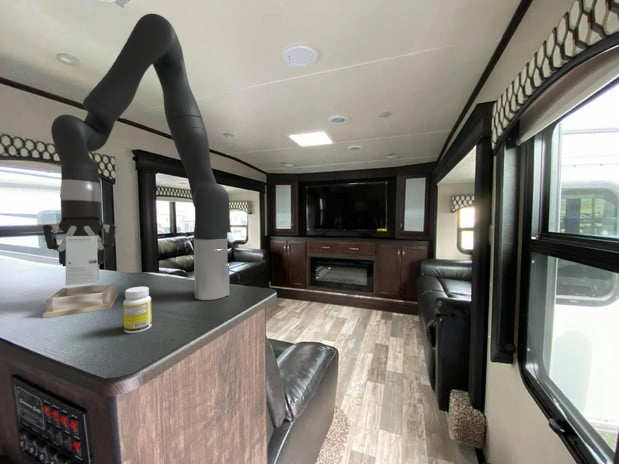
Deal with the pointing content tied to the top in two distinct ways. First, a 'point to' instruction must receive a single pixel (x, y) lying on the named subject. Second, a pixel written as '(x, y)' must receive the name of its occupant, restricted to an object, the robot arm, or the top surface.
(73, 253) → the skincare box
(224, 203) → the robot arm
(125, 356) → the top surface
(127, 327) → the supplement bottle
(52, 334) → the top surface
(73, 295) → the wooden tray
